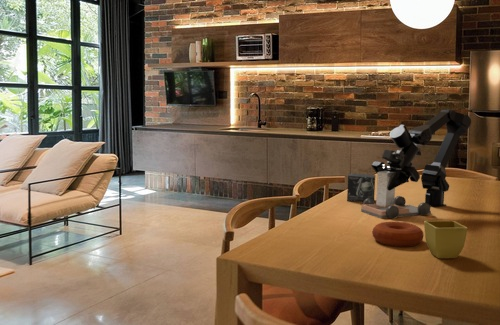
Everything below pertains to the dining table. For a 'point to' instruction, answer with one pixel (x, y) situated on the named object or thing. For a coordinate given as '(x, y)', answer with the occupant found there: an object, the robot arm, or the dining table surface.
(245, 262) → the dining table surface
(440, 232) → the flower pot
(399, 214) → the chassis
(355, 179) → the box
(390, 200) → the block
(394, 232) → the donut
